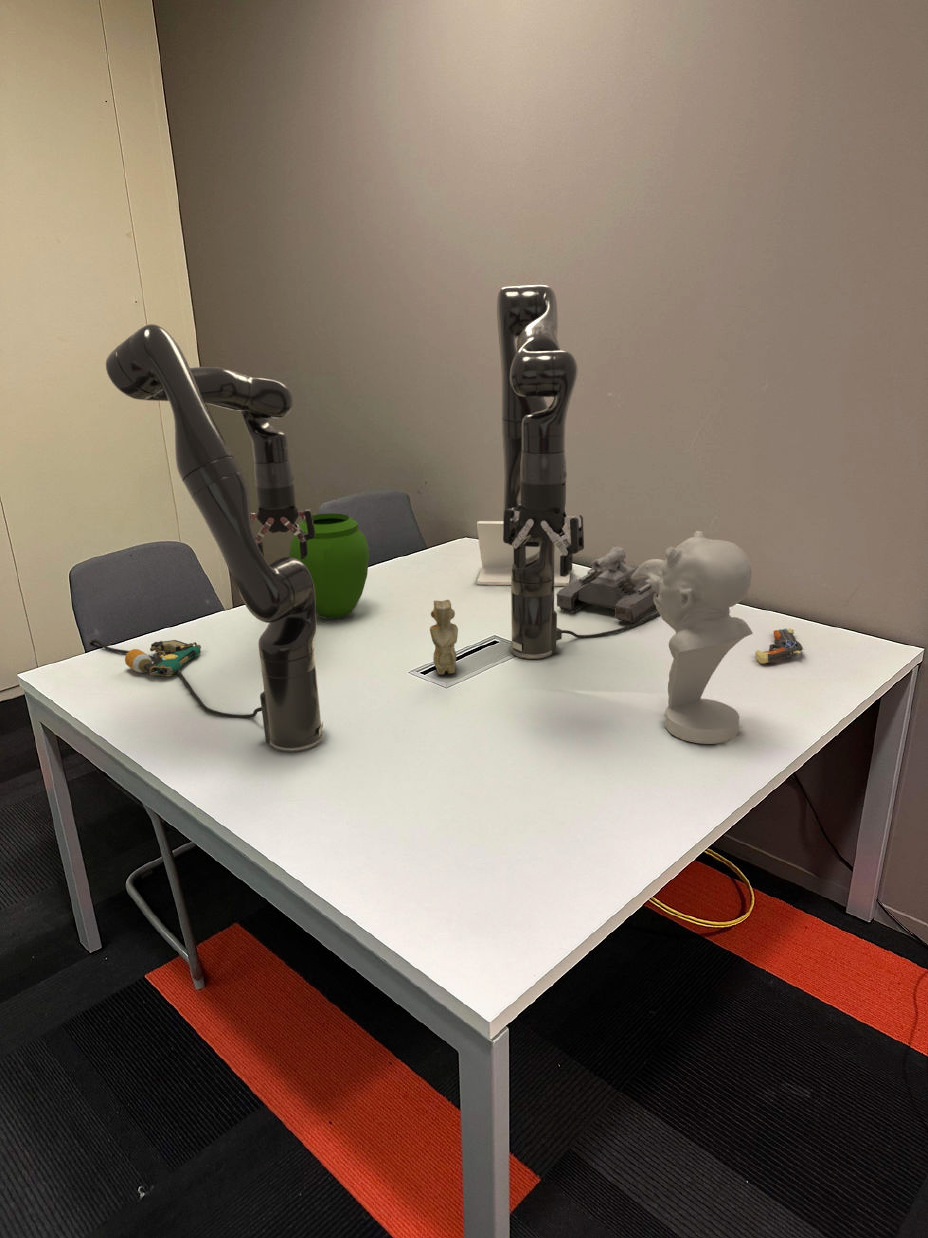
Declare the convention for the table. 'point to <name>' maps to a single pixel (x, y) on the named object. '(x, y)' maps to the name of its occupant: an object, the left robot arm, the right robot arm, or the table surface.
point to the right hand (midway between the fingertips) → (542, 571)
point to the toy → (610, 589)
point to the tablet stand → (506, 556)
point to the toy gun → (780, 646)
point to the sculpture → (444, 637)
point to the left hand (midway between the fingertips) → (282, 559)
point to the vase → (335, 563)
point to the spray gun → (162, 657)
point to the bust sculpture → (699, 629)
